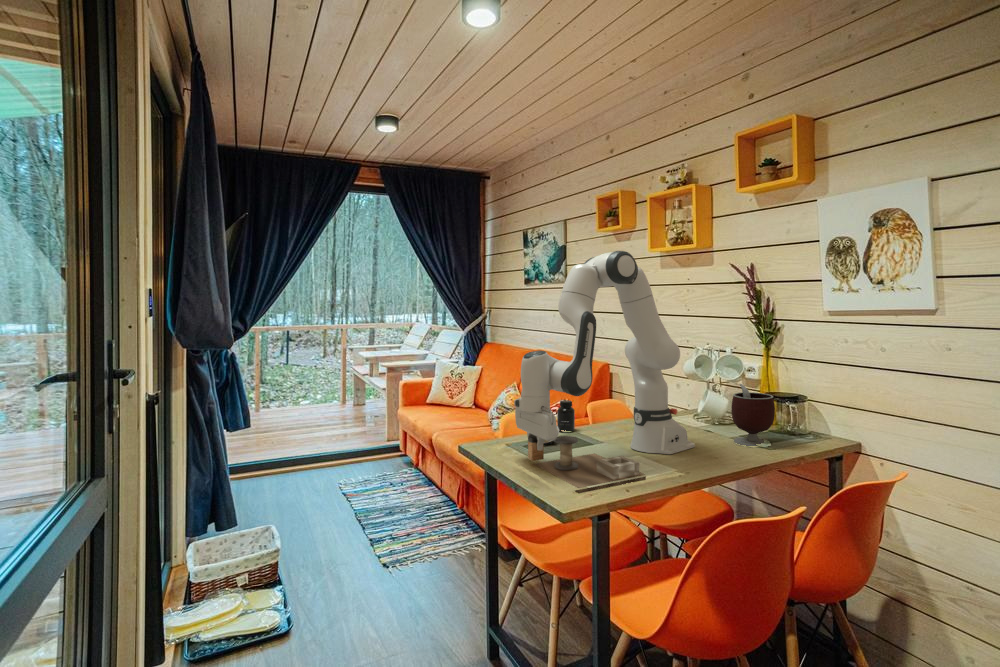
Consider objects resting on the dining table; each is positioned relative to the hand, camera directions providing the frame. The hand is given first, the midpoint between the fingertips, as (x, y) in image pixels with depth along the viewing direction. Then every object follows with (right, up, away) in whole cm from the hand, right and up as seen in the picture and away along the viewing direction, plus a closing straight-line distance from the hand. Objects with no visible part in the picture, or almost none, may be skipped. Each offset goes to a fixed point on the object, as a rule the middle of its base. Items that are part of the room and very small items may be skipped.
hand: (536, 448), depth 167 cm
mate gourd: (+78, -4, +25) cm, 82 cm away
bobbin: (+9, -5, -3) cm, 11 cm away
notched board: (+15, -7, -5) cm, 17 cm away
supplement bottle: (+15, -4, +48) cm, 51 cm away
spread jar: (+5, -5, +33) cm, 33 cm away
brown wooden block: (0, -3, 0) cm, 3 cm away
